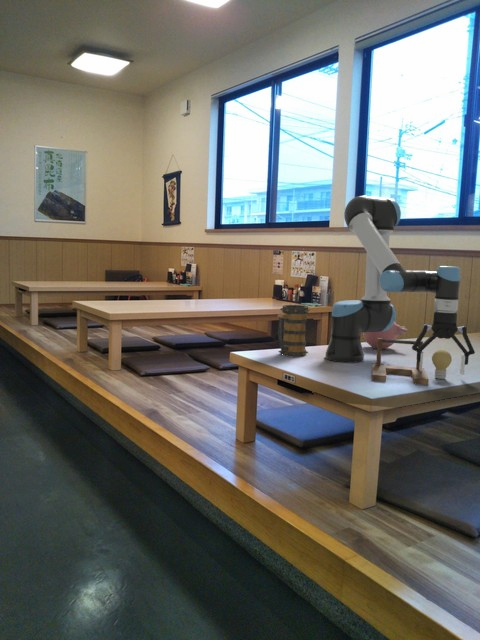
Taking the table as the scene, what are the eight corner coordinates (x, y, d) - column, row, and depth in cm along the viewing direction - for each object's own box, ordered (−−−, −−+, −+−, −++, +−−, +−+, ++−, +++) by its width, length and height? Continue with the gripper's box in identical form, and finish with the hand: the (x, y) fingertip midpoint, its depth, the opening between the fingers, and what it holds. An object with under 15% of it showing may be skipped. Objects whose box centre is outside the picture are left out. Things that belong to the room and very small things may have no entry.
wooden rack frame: (372, 380, 182) (374, 345, 180) (372, 369, 199) (374, 337, 198) (428, 385, 178) (431, 349, 176) (423, 373, 195) (426, 340, 193)
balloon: (399, 354, 230) (402, 318, 228) (356, 348, 242) (358, 314, 240) (412, 350, 242) (414, 316, 240) (370, 344, 254) (372, 311, 252)
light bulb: (434, 375, 192) (436, 347, 191) (452, 378, 188) (454, 350, 187) (427, 378, 188) (429, 350, 186) (446, 381, 184) (448, 352, 182)
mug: (315, 354, 224) (317, 306, 222) (289, 360, 212) (291, 309, 209) (290, 350, 233) (292, 304, 230) (264, 355, 221) (266, 306, 218)
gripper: (408, 310, 184) (404, 371, 187) (487, 314, 178) (481, 377, 181) (407, 308, 192) (403, 367, 194) (482, 312, 186) (477, 372, 188)
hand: (441, 372), depth 188 cm, fingers open, 13 cm apart
